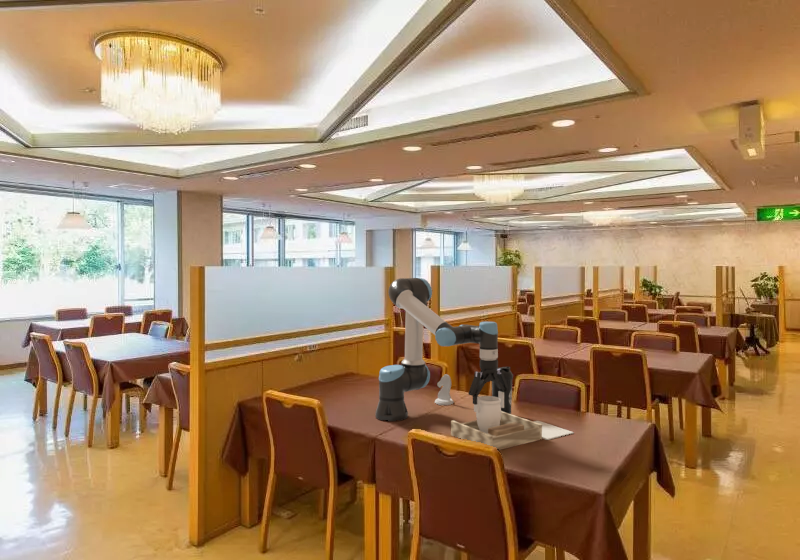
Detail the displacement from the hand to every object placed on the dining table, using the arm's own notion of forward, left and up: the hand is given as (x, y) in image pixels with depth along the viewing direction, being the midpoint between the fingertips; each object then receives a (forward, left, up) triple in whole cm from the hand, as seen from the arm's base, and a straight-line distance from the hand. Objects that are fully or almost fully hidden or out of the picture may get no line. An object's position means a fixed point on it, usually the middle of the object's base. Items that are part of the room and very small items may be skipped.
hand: (489, 409), depth 220 cm
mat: (+8, +23, -10) cm, 26 cm away
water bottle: (-18, +24, -11) cm, 32 cm away
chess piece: (-51, +15, -11) cm, 54 cm away
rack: (+4, 0, -10) cm, 11 cm away
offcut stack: (+10, 0, -11) cm, 15 cm away
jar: (0, 0, -11) cm, 11 cm away
